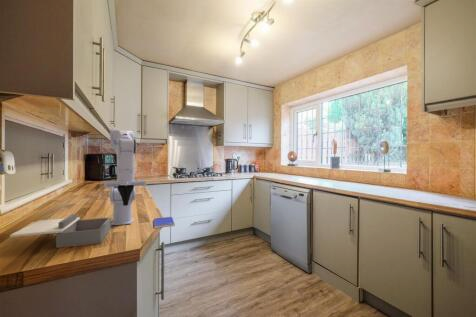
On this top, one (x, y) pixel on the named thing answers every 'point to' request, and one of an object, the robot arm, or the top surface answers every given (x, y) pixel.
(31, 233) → the mailer lid
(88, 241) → the box
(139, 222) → the top surface
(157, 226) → the hard drive
